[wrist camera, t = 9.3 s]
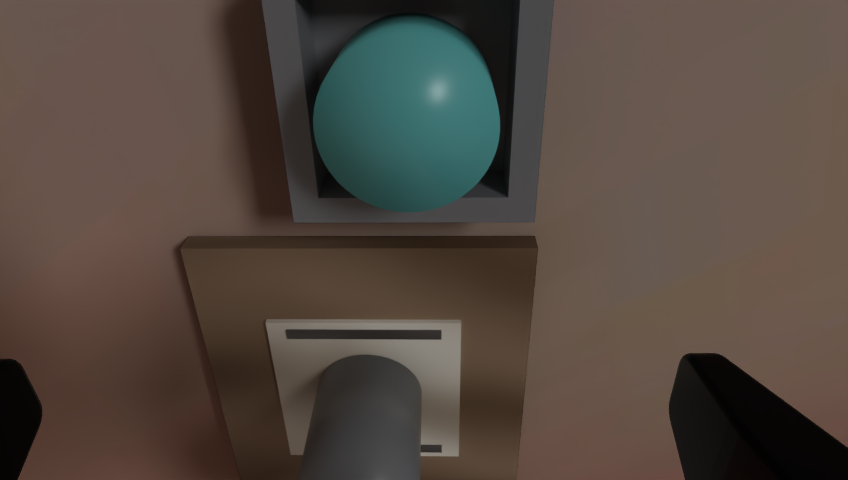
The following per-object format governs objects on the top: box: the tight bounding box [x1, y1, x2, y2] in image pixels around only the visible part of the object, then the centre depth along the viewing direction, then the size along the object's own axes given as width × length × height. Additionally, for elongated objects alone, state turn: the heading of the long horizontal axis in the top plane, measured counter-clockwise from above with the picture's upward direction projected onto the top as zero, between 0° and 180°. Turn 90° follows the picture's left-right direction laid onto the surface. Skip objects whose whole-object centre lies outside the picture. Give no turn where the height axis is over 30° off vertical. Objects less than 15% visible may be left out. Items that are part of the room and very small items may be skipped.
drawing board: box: [180, 236, 538, 480], centre depth 24 cm, size 13×12×1 cm
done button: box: [313, 13, 500, 212], centre depth 15 cm, size 4×4×2 cm
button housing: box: [261, 0, 554, 223], centre depth 17 cm, size 7×7×3 cm
